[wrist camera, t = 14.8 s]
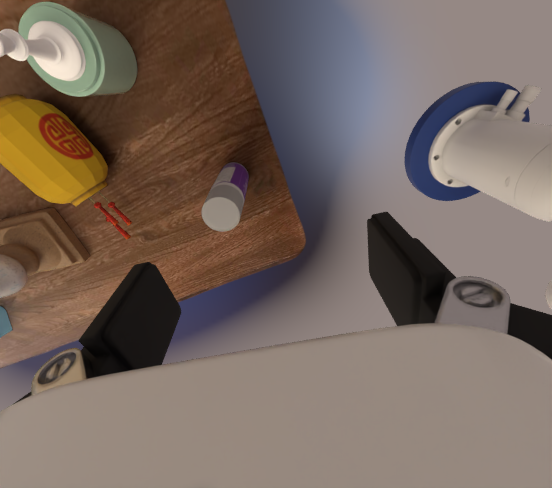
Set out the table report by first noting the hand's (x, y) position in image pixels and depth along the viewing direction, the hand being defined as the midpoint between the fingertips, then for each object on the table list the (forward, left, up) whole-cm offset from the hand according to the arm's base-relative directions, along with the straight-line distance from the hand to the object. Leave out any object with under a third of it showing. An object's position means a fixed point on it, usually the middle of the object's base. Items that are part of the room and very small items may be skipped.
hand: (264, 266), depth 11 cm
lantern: (+10, -28, -34) cm, 45 cm away
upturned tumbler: (-3, -23, -33) cm, 41 cm away
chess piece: (-3, -23, -24) cm, 34 cm away
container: (+7, -3, -34) cm, 34 cm away
